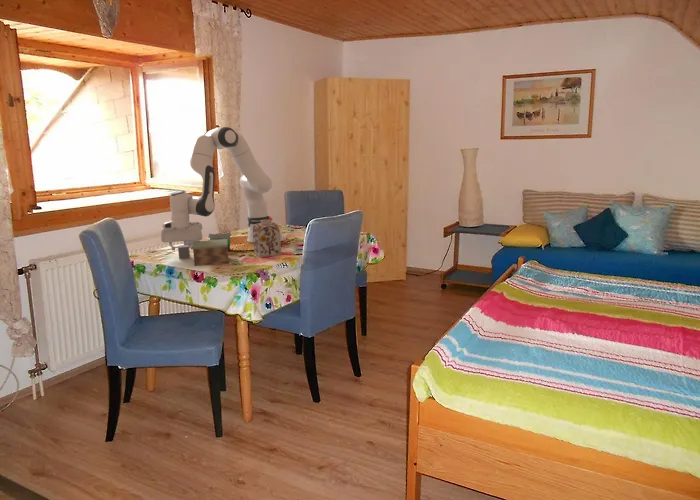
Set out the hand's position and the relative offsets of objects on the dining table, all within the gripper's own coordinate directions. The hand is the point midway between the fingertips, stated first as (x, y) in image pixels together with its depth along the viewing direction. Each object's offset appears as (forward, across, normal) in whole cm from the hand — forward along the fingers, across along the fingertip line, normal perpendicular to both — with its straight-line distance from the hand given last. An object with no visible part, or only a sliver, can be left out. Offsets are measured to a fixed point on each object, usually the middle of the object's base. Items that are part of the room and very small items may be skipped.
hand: (183, 249), depth 279 cm
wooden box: (+4, -14, +14) cm, 21 cm away
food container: (+4, -19, -8) cm, 21 cm away
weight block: (+4, 0, 0) cm, 4 cm away
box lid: (-4, -14, +14) cm, 20 cm away
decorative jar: (+4, -42, +7) cm, 43 cm away
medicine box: (+4, -2, -30) cm, 30 cm away
